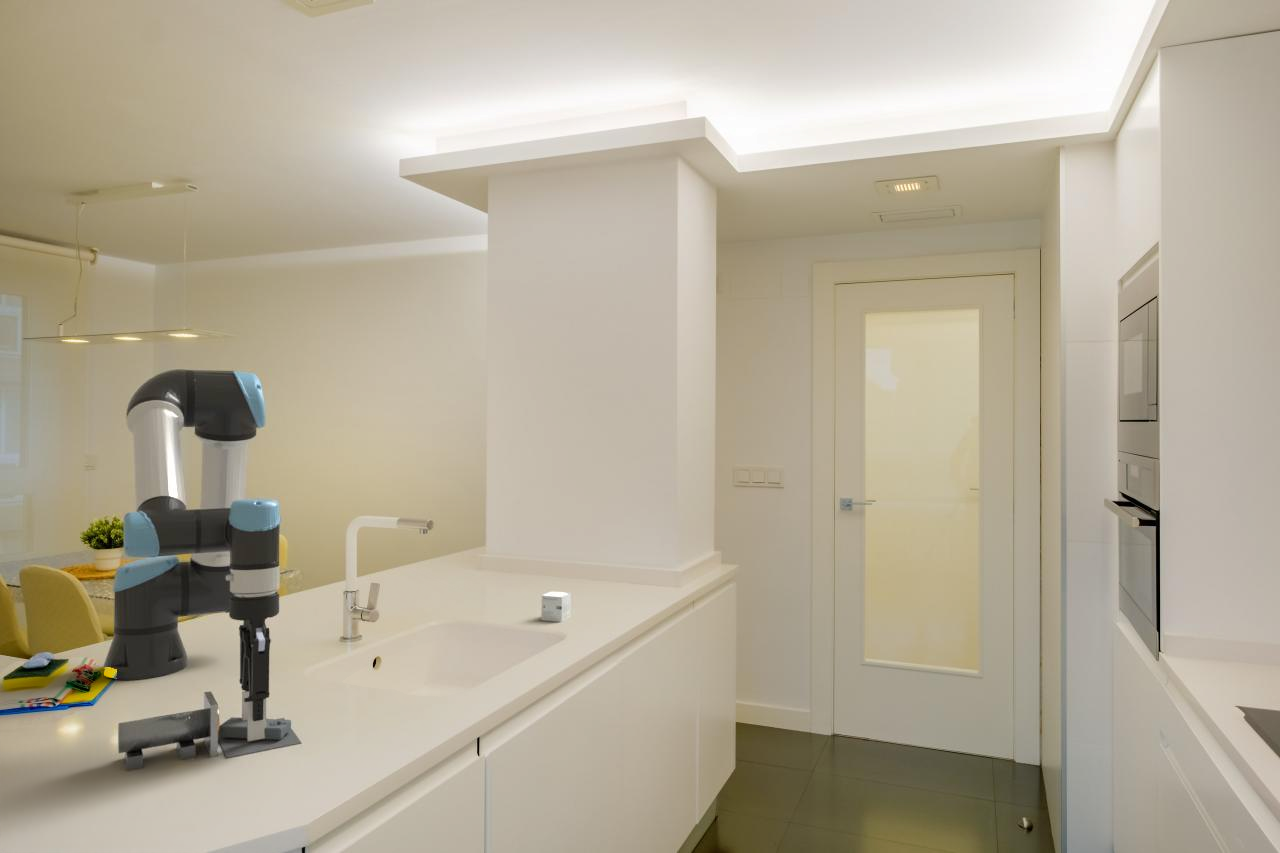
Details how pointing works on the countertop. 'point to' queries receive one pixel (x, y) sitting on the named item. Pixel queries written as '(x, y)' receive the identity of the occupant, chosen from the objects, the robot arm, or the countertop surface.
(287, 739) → the mount pad
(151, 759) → the countertop surface
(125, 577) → the robot arm
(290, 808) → the countertop surface
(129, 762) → the pipe fixture
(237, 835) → the countertop surface
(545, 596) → the skincare box
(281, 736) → the bracket
